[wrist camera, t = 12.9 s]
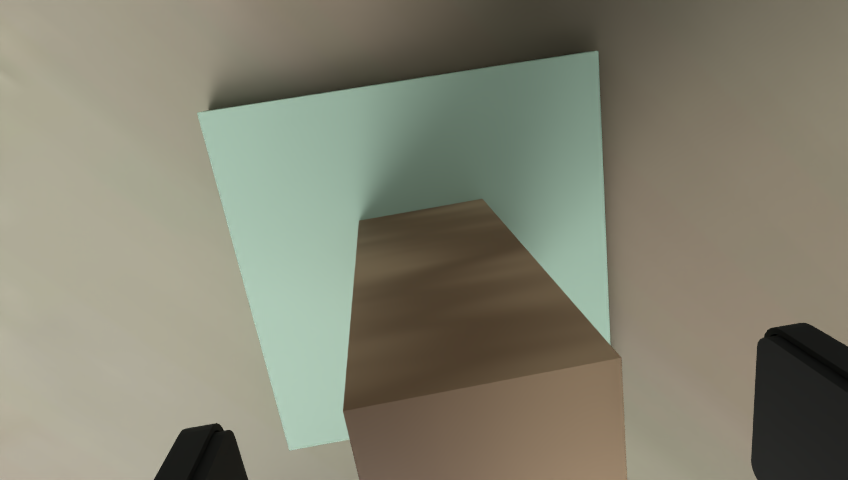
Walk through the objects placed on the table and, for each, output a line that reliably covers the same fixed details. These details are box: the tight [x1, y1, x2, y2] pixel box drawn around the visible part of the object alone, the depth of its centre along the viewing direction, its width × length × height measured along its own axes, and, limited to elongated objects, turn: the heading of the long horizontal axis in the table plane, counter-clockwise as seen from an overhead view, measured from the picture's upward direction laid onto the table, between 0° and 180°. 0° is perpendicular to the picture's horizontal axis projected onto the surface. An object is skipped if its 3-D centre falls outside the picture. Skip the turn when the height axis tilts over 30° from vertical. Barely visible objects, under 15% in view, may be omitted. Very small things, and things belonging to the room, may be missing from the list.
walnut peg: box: [343, 199, 627, 480], centre depth 13 cm, size 4×4×10 cm
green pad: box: [197, 51, 610, 451], centre depth 18 cm, size 12×12×1 cm
